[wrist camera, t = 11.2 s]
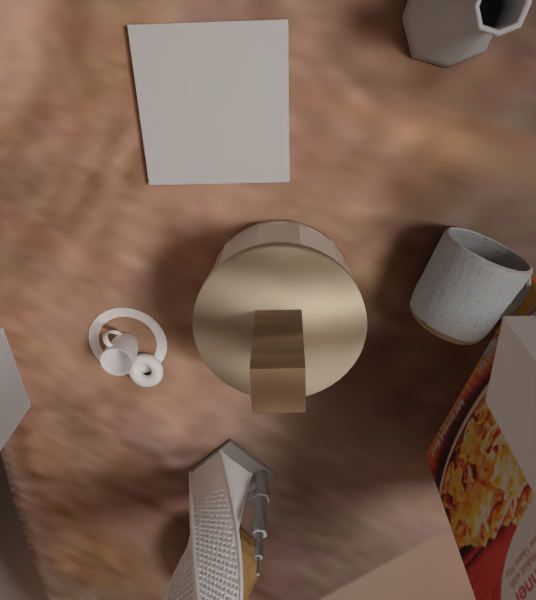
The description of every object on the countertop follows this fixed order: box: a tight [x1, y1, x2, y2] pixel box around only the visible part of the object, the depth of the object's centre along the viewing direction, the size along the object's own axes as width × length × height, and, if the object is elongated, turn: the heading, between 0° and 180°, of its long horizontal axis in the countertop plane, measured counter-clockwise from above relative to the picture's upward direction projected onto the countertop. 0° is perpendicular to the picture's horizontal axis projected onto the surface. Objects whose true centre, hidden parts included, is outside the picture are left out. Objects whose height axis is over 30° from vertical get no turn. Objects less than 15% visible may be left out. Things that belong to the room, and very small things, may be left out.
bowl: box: [209, 220, 353, 278], centre depth 44 cm, size 13×13×7 cm
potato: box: [239, 527, 261, 600], centre depth 60 cm, size 10×14×8 cm
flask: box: [402, 0, 532, 68], centre depth 32 cm, size 7×7×10 cm
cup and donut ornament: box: [89, 308, 167, 387], centre depth 50 cm, size 9×8×4 cm
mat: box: [127, 19, 290, 185], centre depth 40 cm, size 12×12×1 cm
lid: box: [192, 242, 367, 413], centre depth 38 cm, size 14×14×11 cm
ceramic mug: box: [410, 227, 533, 345], centre depth 43 cm, size 11×8×8 cm
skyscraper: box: [163, 439, 274, 600], centre depth 46 cm, size 8×8×28 cm
